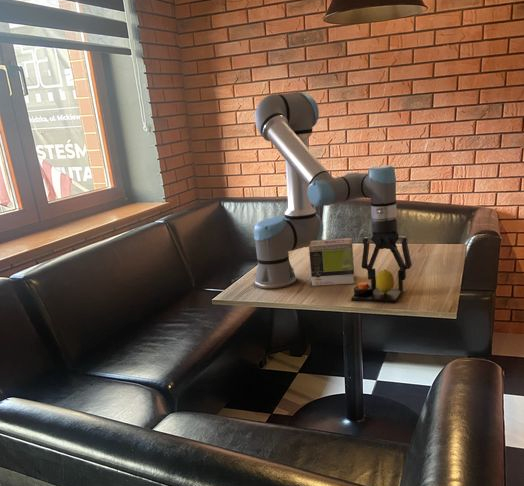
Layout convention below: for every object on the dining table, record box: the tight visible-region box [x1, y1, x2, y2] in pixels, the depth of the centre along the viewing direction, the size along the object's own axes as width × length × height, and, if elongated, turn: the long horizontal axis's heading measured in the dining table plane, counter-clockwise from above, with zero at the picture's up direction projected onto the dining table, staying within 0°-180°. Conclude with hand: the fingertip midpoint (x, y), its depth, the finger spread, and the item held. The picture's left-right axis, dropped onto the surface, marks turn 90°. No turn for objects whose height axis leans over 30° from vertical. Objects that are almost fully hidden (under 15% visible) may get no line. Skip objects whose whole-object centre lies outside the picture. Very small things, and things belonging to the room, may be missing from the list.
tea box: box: [308, 237, 355, 287], centre depth 191 cm, size 15×10×15 cm, turn 80°
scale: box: [351, 284, 404, 304], centre depth 173 cm, size 14×11×3 cm
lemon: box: [376, 269, 395, 294], centre depth 170 cm, size 6×6×8 cm
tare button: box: [357, 281, 369, 289], centre depth 174 cm, size 3×3×2 cm
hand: (387, 289), depth 171 cm, fingers open, 8 cm apart
